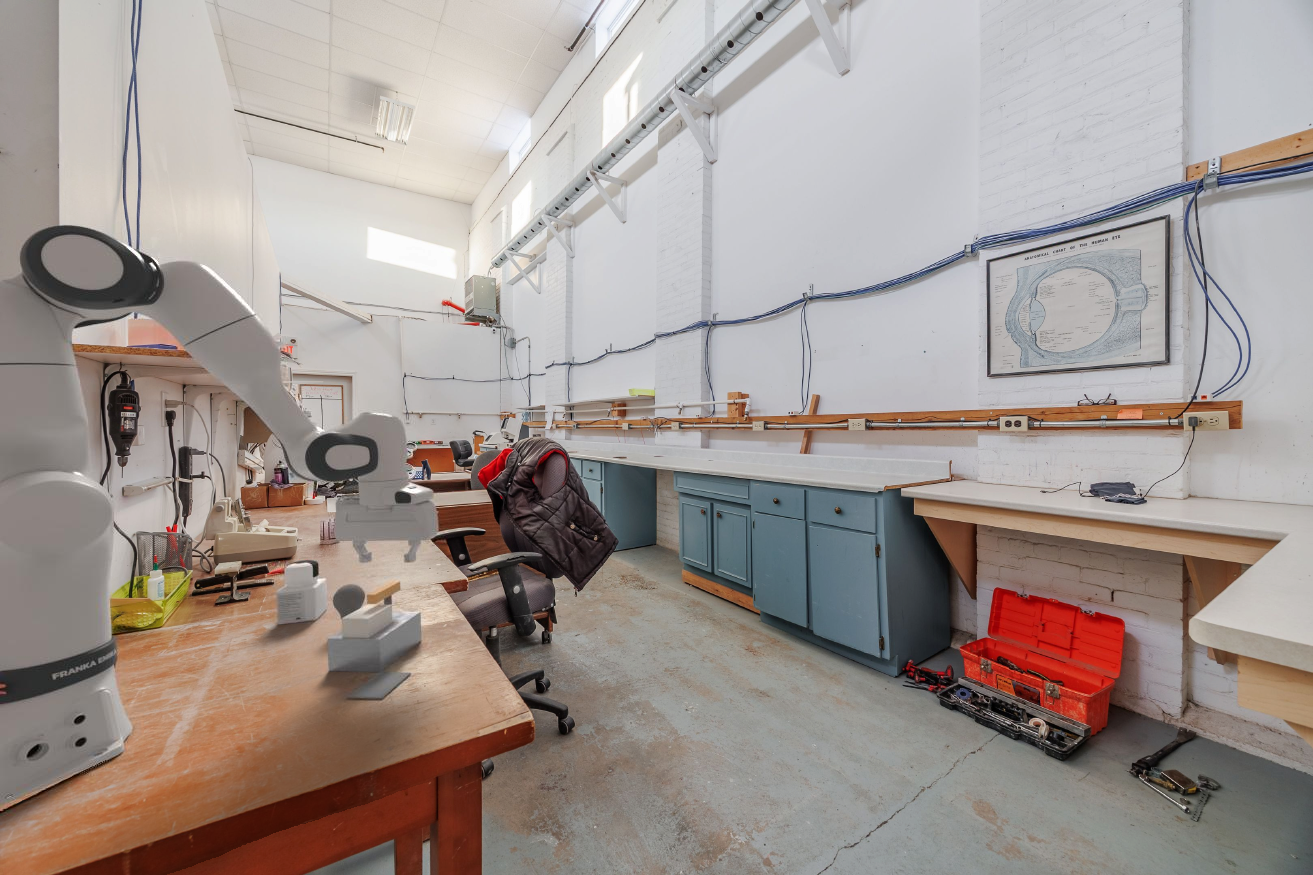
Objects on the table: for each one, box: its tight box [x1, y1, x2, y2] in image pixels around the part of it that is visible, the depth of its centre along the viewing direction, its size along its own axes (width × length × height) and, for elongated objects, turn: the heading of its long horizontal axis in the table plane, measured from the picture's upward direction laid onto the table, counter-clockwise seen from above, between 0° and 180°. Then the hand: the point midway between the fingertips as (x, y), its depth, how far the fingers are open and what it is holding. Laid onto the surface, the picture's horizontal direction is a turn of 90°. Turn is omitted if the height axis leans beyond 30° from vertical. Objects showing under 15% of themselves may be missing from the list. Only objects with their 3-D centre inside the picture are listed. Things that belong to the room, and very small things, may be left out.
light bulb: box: [332, 583, 366, 620], centre depth 107 cm, size 6×6×10 cm
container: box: [275, 559, 328, 625], centre depth 115 cm, size 8×8×13 cm
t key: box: [366, 580, 401, 606], centre depth 97 cm, size 8×2×6 cm, turn 175°
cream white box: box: [341, 603, 393, 638], centre depth 92 cm, size 7×5×4 cm
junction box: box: [327, 610, 422, 673], centre depth 94 cm, size 13×10×6 cm
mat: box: [346, 671, 412, 700], centre depth 83 cm, size 8×6×1 cm
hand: (387, 561), depth 98 cm, fingers open, 8 cm apart
